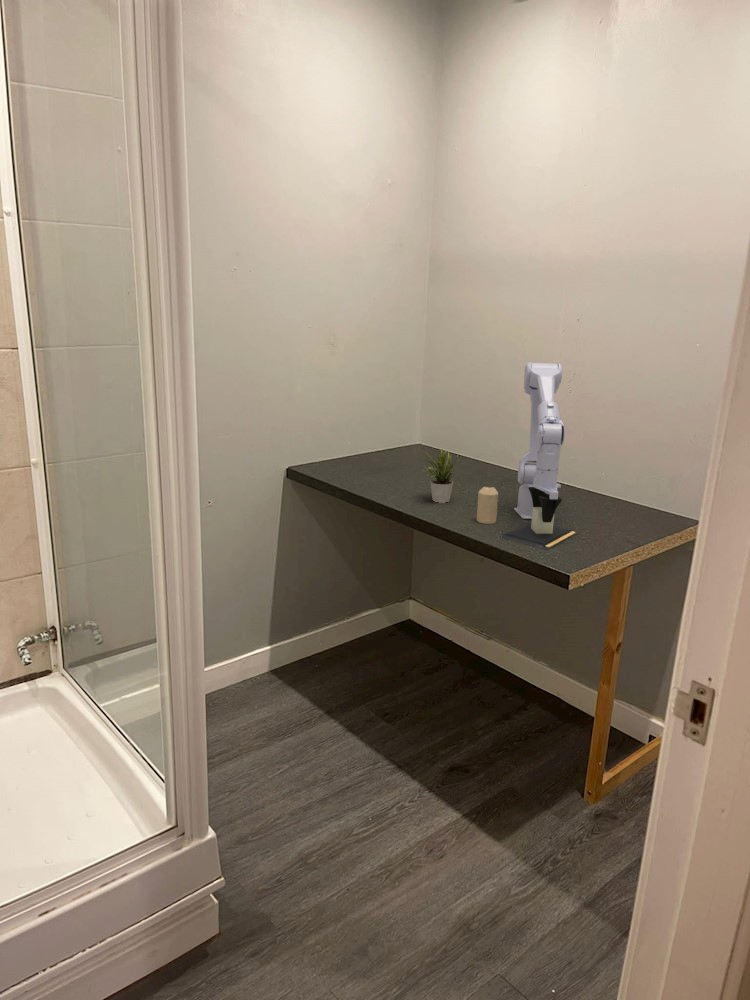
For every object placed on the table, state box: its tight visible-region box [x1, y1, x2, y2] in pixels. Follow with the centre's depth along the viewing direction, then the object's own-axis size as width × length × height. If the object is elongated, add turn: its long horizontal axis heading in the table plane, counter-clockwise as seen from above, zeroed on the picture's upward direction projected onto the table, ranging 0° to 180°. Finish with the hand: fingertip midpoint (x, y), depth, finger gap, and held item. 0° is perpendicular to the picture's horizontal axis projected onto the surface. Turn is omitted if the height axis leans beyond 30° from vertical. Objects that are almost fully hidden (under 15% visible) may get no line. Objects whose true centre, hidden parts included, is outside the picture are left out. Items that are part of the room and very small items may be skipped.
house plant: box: [422, 449, 459, 504], centre depth 220 cm, size 14×14×16 cm
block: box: [531, 507, 555, 534], centre depth 192 cm, size 4×4×6 cm
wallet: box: [499, 520, 581, 551], centre depth 193 cm, size 20×2×15 cm
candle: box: [476, 486, 499, 525], centre depth 202 cm, size 6×6×10 cm
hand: (542, 517), depth 192 cm, fingers open, 7 cm apart
